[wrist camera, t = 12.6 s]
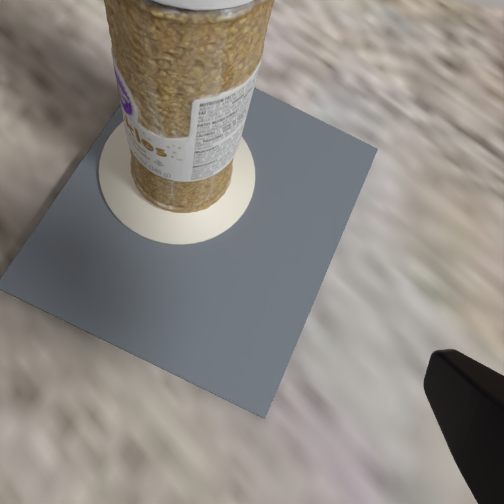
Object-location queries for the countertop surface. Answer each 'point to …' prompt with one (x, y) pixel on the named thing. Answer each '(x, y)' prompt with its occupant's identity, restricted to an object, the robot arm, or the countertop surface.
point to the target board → (200, 253)
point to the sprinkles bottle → (185, 91)
